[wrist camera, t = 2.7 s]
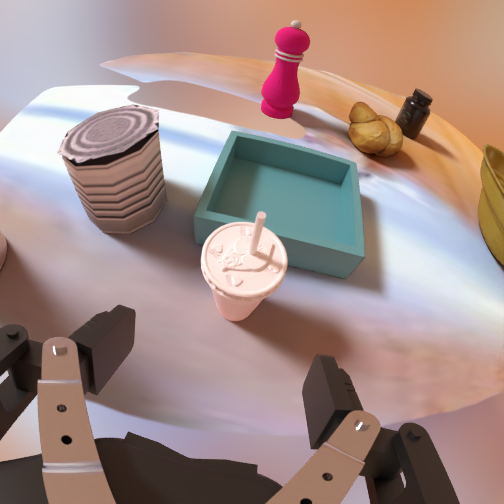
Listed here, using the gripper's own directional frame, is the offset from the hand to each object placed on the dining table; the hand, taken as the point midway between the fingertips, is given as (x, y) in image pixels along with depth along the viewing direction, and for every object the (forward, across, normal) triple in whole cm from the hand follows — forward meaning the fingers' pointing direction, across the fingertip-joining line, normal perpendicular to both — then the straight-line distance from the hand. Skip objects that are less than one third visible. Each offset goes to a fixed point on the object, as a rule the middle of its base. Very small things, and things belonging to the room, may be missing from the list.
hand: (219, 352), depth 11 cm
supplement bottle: (+53, -31, -32) cm, 69 cm away
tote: (+26, -3, -5) cm, 27 cm away
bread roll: (+43, -19, -21) cm, 52 cm away
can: (+24, +17, -2) cm, 29 cm away
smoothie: (+17, 0, +5) cm, 17 cm away
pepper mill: (+45, +1, -23) cm, 51 cm away
